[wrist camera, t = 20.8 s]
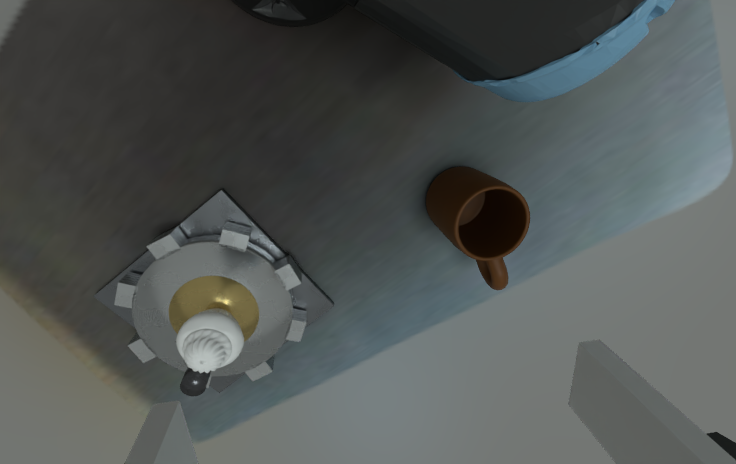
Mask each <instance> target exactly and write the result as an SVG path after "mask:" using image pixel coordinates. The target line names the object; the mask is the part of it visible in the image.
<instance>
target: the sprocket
mask: <svg viewBox="0 0 736 464" xmlns="http://www.w3.org/2000/svg"><path fill="white" fill-rule="evenodd" d="M252 229H253V228H251V227H247V226H243V225H239V224H236V223H232V222H228V221H227V223H226V224H225V226H224V228H223V230H222V234H221V235H204V236H197V237H193V238H189V239H187V238H186V236H185V235H184V234H183V232H182V231H181V230H180V228H179V227H178V226H177V227H175V228H173V229H171V230H169V231H167V232H165V233H163V234H161V235H159V236H157V237H155V238H154V239H153V240H152V241H151V242H150V243H149V244H148V245H147V246H146V247H147V248H148V249H149V250H150V252H151V253H152V254H153V256H154V257H155V258H156V259H155V260H154V262H153V263H152V264H151V265H150V266H149V267H148V268H147V269H146V271H145V272H144V273H143V275H141V274H136V273H132V272H128V273H127V274H126V275H125V276H124V277H123V278H122V279H121V280H120V281H119V282H118V286H117V292H116V298H115V303H114V305H117V306H122V307H127V308H132V317H133V321H134V325H135V327H136V330H137V333H136V334H135V335H134V337H133V338H132V340H131V341H130V343H129V344H128V345H127V346H128V347H129V348H130V349H131V350H132V351H133V352H134V353H135V354H136V355H137V357H138V358H139V359H140V360H141V361H142V362H143V363H144V362H146V361H148V360H150V359H152V358H154V357H156V356H157V357H158V358H160V359H161V360H162V361H164V362H165V363H167V364H169V365H170V366H172V367H175V368H177V369H179V370H182V371H185V375H184V377H183V379H182V382H181V384H180V389H181V391H182V392H183V393H184V394H186V395H188V396H198V395H200V394H202V393H203V392H204V391H205V389H206V388H208V387H209V384H210V381H211V378H212V376H217V377H219V376H229V375H235V374H239V373H242V372H245V373H246V374H247V375H248V376H249V378H250V379H251V380H252V381H255V380H257V379H259V378H261V377H263V376H265V375H267V374H269V373H271V372H273V366H274V357H273V355H274V354H275V353H276V352H277V351H278V350H279V348H280V347H281V346H282V345H283V343H284V341H285V340H291V341H296V342H300V340H301V337H302V335H303V332H304V329H305V326H306V323H307V311H304V310H299V309H294V308H293V292H292V288H293V287H295V286H297V285H299V284H301V283H302V273H301V271H300V270H299V268H298V267H297V265H296V263H295V262H294V260H293V259H292V257H291V255H288V256H286V257H284V258H282V259H280V260H278V261H276V260H275V259H274V258H273V257H272V256H271V255H270V254H268V253H267V252H266V251H265V250H263V249H262V248H260V247H258V246H257V245H255V244H252V243H250V242H249V240H250V236H251V233H252ZM213 308H214V309H215V308H220V309H223V310H226V311H228V312H229V313H231V314H232V316H233V317H234V318H235V319H236V320H237V322H238V324H239V325H240V327H241V330H242V333H243V336H244V345H243V348H242V350H241V352H240V354H239V355H238V357H237V358H236V359H235V360H234V361H233V362H231V363H230V364H228V365H226V366H223V367H221V368H217V369H216V370H215V371H211V370H210V371H209V373H206V372H203V373H199V371H193V370H192V368H189V367H188V366H187V363H186V362H185V360H184V359H183V358H182V356H181V355H180V353H179V351H178V349H177V344H176V338H177V334H178V332H179V330H180V328H181V327H182V325H183V324H184V323H185V322H186V321H187V320H188V319H189V318H191V317H192V316H194V315H195V314H198V313H199V312H202V311H205V310H209V309H213Z"/></svg>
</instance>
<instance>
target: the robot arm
mask: <svg viewBox="0 0 736 464" xmlns="http://www.w3.org/2000/svg"><path fill="white" fill-rule="evenodd" d="M232 1H233V2H234V3H235V4H237V5H238V6H239V7H240V8H242V9H243V10H245V11H246V12H247V13H249V14H251V15H252V16H254V17H256V18H258V19H261V20H263V21H265V22H268V23H271V24H275V25H280V26H289V27H299V26H307V25H311V24H315V23H318V22H321V21H323V20H325V19H327V18H329V17H331V16H333V15H334V14H336V13H337V12H338V11H339V10H341V9H342V8H343V7H344V6H345V5H346V4H347V3H348V4H349V5H351V6H352V7H354V9H356V10H358V11H359V12H361V13H362V14H364V15H366V16H367V17H369V18H371V19H372V20H374V21H375V22H377V23H379V24H380V25H382V26H383V27H385V28H387V29H388V30H390V31H392V32H393V33H395V34H396V35H398V36H400V37H401V38H403V39H405V40H406V41H408V42H409V43H411V44H413V45H414V46H416V47H417V48H419V49H421V50H422V51H424V52H426V53H427V54H429V55H430V56H432V57H434V58H435V59H437V60H438V61H440V62H442V63H443V64H445V65H447V66H448V67H450V68H451V69H452V70H453V71H454V73H455V74H456V75H457V76H458V77H460V78H461V79H462V80H464V81H466V82H468V83H469V82H470V83H472V84H474V85H477V86H482V87H484V88H486V89H488V90H490V91H491V92H493V93H495V94H497V95H499V96H501V97H502V98H505V99H508V100H512V101H517V102H535V101H541V100H546V99H549V98H553V97H556V96H559V95H561V94H564V93H566V92H568V91H571V90H573V89H575V88H577V87H579V86H581V85H583V84H584V83H586V82H588V81H590V80H591V79H593V78H595V77H596V76H598V75H599V74H601V73H602V72H604V71H605V70H607V69H608V68H610V67H611V66H612V65H614V64H615V63H616V62H618V61H619V60H620V59H621V58H622V57H624V56H625V55H626V54H627V53H628V52H629V51H631V50H632V49H633V48H634V47H635V46H636V45H637V44H638V43H639V42H640V41H641V40H642V39H643V38H644V37H645V36H646V35H647V34H648V33H649V28H648V25H647V23H648V22H650V21H651V20H652V19H654V18H656V17H658V16H661V15H663V14H665V13H666V12H667V11H668V10H669V8H670V7H671V6H672V4H673V3H674V1H675V0H232ZM569 406H570V407H571V408H572V409H573V411H574V412H575V413H576V414H577V416H578V417H579V418H580V419H581V421H582V422H583V423H584V424H585V425H586V427H587V428H588V429H589V431H590V432H591V433H592V434H593V436H594V437H595V438H596V439H597V440H598V442H599V443H600V444H601V446H602V447H603V448H604V449H605V451H607V453H608V454H609V455H610V457H611V458H612V459H613V460H614V462H615V463H616V464H736V443H735V442H733V441H731V440H730V439H728V438H726V437H724V436H723V435H721V434H719V433H718V432H714V433H708V434H706V433H704V432H703V431H702V430H701V429H700V428H699V427H698V426H697V425H695V424H694V423H693V422H692V421H691V420H690V419H689V418H687V417H686V416H685V415H684V414H683V413H682V412H681V411H680V410H679V409H677V408H676V407H675V406H674V405H673V404H672V403H671V402H669V401H668V400H667V399H666V398H665V397H664V396H663V395H662V394H660V393H659V392H658V391H657V390H656V389H655V388H654V387H653V386H651V385H650V384H649V383H648V382H647V381H646V380H645V379H644V378H642V377H641V376H640V375H639V374H638V373H637V372H636V371H634V370H633V369H632V368H631V367H630V366H629V365H628V364H627V363H626V362H624V361H623V360H622V359H621V358H620V357H619V356H618V355H616V354H615V353H614V352H613V351H612V350H611V349H610V348H609V347H607V346H606V345H605V344H604V343H603V342H602V341H601V340H593V341H586V342H580V343H579V346H578V351H577V357H576V363H575V369H574V374H573V380H572V386H571V393H570V398H569ZM124 464H199V463H198V460H197V457H196V453H195V450H194V447H193V444H192V440H191V437H190V434H189V430H188V427H187V424H186V421H185V417H184V414H183V411H182V407H181V404H180V401H173V402H166V403H159V404H153V406H152V408H151V410H150V412H149V414H148V416H147V418H146V420H145V422H144V424H143V426H142V428H141V430H140V432H139V434H138V437H137V439H136V441H135V443H134V445H133V447H132V449H131V451H130V453H129V455H128V457H127V459H126V461H125V463H124Z"/></svg>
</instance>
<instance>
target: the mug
mask: <svg viewBox="0 0 736 464" xmlns="http://www.w3.org/2000/svg"><path fill="white" fill-rule="evenodd" d="M426 207H427V211H428V214H429V216H430V218H431V220H432V221H433V223H434V224H435V225H436V226H437V227H438V228H439V229H440V230H441V232H442V233H443V234H444V235H445V236H446V237H447V238H448V239H449V240H450V241H451V242H452V243H453V244H454V245H455V246H456V247H457V248H458V249H459V250H461V251H462V252H463V253H464V254H466V255H467V256H469V257H471V258H473V259H476V262H477V265H478V267H479V270H480V272H481V274H482V276H483V278H484V280H485V281H486V283H487V284H488V285H489V286H490V287H491V288H492V289H495V290H502V289H504V288H505V287H506V285H507V284H508V272H507V269H506V266H505V263H504V260H503V257H504V256H506V255H508V254H510V253H511V252H512V251H514V250H515V249H516V248H517V247H518V246H519V245H520V243H521V242H522V241H523V239H524V237H525V236H526V233H527V231H528V228H529V223H530V211H529V207H528V204H527V202H526V200H525V198H524V197H523V196H522V195H521V194H520V193H519V192H518V191H517V190H515V189H513V188H512V187H511V186H509V185H508V184H506V183H504V182H502V181H500V180H498V179H496V178H494V177H492V176H489V175H487V174H485V173H483V172H480V171H478V170H476V169H473V168H470V167H454V168H450V169H448V170H446V171H444V172H442V173H441V174H440V175H439V176H437V177H436V178H435V180H434V181H433V182H432V184H431V185H430V187H429V190H428V192H427V197H426Z"/></svg>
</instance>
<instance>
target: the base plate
mask: <svg viewBox="0 0 736 464" xmlns="http://www.w3.org/2000/svg"><path fill="white" fill-rule="evenodd" d="M227 221H228V222H232V223H236V224H239V225H243V226H247V227H251V228H253V229H252V233H251V236H250V240H249V242H250V243H252V244H255V245H257V246H258V247H260V248H262V249H263V250H265V251H266V252H267V253H268V254H270V255H271V256H272V257H273V258H274V259H275V260H276V261H278V260H280V259H282V258H284V257H286V256H288V255H287V254H286V253H285V252H284V251H283V250H282V249H281V248H280V246H279V245H278V244H277V243H276V242H275V241H274V240H273V239H272V238H271V237H270V236H269V235H268V234H267V233H266V232H265V231H264V230H263V229H262V228H261V227H260V226H259V225H258V224H257V223H256V222H255V221H254V220H253V219H252V218H251V217H250V216H249V215H248V214H247V213H246V212H245V211H244V209H243V208H242V207H241V206H240V205H239V204H238V203H237V202H236V201H235V200H234V199H233V198H232V197H231V196H230V195H229V194H228V193H227V192H226V191H225V190H224V189H221V190H220V191H219V192H218V193H217V194H215V195H214V196H213V197H212V198H210V199H209V200H208V201H207V202H206V203H204V204H203V205H202V206H201V207H200V208H198V209H197V210H196V211H195V212H194V213H192V214H191V215H190V216H189V217H188V218H186V219H185V220H184V221H183V222H182V223H180V224H179V225H178V227H179V228H180V230H181V231H182V232H183V234H184V235H185V236H186V238H187V239H189V238H193V237H197V236H204V235H221V234H222V230H223V228H224V226H225V224H226V223H227ZM155 259H156V258H155V257H154V256H153V254H152V253H151V252H150V250H148V251H147V252H146V253H144V254H143V255H142V256H141V257H139V258H138V259H137V260H136V261H135V262H133V263H132V264H131V265H130V266H129V267H127V268H126V269H125V270H124V271H123V272H121V273H120V274H119V275H118V276H117V277H115V278H114V279H113V280H112V281H111V282H109V283H108V284H107V285H106V286H105V287H103V288H102V289H101V290H100V291H99V292H97V293H96V294H95V295H94V297H95V298H96V299H98V300H99V301H100V302H102V303H103V304H104V305H106V306H107V307H108V308H109V309H111V310H112V311H113V312H115V313H116V314H117V315H119V316H120V317H121V318H122V319H124V320H125V321H126V322H128V323H129V324H130V325H132V326H133V327H134V328H135V329H136V327H135V325H134V321H133V317H132V308H127V307H122V306H117V305H114V303H115V298H116V292H117V286H118V282H119V281H120V280H121V279H122V278H123V277H124V276H125V275H126V274H127V273H128V272H132V273H136V274H141V275H143V273H144V272H145V271H146V269H147V268H148V267H149V266H150V265H151V264H152V263H153V262H154V260H155ZM296 265H297V264H296ZM297 267H298V268H299V270H300V271H301V273H302V283H301V284H299V285H297V286H295V287H293V288H292V292H293V308H294V309H299V310H304V311H307V323H306V326H305V328H306V327H307V326H308V325H310V324H311V323H312V322H313V321H315V320H316V319H317V318H319V317H320V316H321V315H323V314H324V313H325V312H327V311H328V310H329V309H331V308H332V307H333V306H334V302H333V301H332V300H331V299H330V298H329V297H328V296H327V295H326V294H325V293H324V292H323V291H322V290H321V289H320V288H319V287H318V286H317V285H316V284H315V282H314V281H313V280H312V279H311V278H310V277H309V276H308V275H307V274H306V273H305V272H304V271H303V270H302V269H301V268H300V267H299V266H298V265H297ZM287 341H289V340H285V341H284V343H283V344H285V343H286V342H287ZM244 374H245V372H242V373H239V374H235V375H229V376H219V377H217V376H212V378H211V381H210V384H209V385H210V386H211V387H212V388H214V389H215V390H216V391H217V392H219V393H220V392H222V391H223V390H224V389H225V388H227V387H228V386H229V385H231V384H232V383H233V382H235V381H236V380H237V379H239V378H240V377H241V376H243V375H244Z"/></svg>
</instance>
